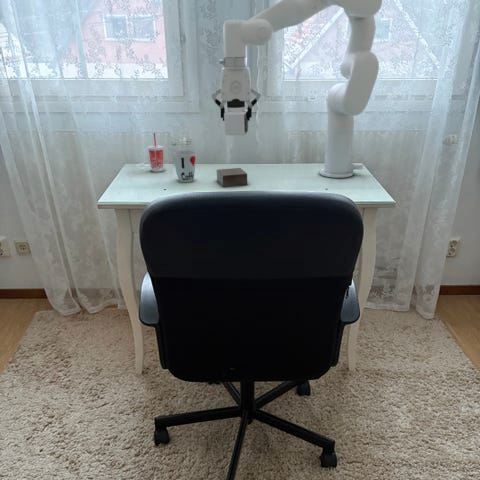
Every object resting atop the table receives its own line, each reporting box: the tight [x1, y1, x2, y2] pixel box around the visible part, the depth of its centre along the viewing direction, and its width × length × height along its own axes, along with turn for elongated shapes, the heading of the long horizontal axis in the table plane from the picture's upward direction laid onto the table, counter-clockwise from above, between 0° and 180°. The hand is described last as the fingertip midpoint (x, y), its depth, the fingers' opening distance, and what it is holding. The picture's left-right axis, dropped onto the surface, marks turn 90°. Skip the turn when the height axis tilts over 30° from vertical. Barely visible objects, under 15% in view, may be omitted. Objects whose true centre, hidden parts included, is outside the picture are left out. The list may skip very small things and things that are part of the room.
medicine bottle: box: [223, 99, 249, 136], centre depth 176 cm, size 7×7×12 cm
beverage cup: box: [147, 132, 164, 173], centre depth 200 cm, size 6×6×14 cm
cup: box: [172, 149, 197, 183], centre depth 188 cm, size 8×8×10 cm
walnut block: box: [216, 167, 248, 188], centre depth 187 cm, size 9×9×4 cm
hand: (236, 119), depth 177 cm, fingers closed on medicine bottle, 8 cm apart
